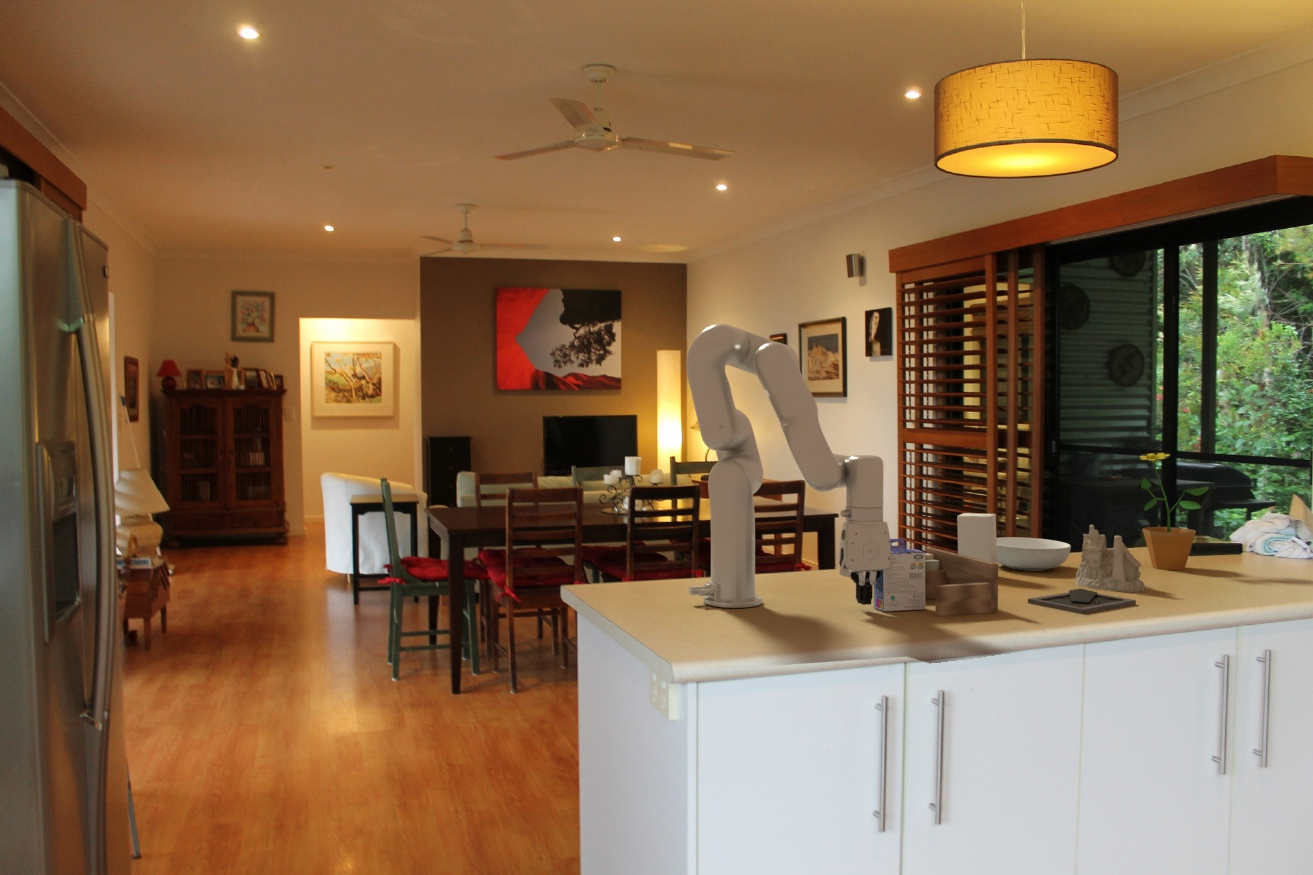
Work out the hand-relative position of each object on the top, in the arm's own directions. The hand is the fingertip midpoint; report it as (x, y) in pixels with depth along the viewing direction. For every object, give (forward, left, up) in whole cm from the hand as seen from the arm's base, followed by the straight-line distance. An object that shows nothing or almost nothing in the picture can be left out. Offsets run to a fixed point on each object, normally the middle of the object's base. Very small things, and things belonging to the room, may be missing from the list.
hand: (864, 603), depth 204 cm
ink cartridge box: (+8, 0, -2) cm, 8 cm away
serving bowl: (+67, +36, -2) cm, 76 cm away
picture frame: (+48, -7, -3) cm, 49 cm away
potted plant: (+102, +25, -2) cm, 105 cm away
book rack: (+19, +3, -2) cm, 19 cm away
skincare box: (+47, +29, -2) cm, 55 cm away
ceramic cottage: (+70, +9, -2) cm, 71 cm away
